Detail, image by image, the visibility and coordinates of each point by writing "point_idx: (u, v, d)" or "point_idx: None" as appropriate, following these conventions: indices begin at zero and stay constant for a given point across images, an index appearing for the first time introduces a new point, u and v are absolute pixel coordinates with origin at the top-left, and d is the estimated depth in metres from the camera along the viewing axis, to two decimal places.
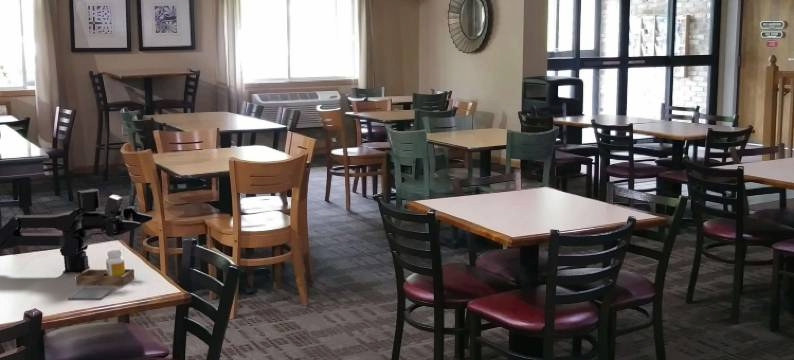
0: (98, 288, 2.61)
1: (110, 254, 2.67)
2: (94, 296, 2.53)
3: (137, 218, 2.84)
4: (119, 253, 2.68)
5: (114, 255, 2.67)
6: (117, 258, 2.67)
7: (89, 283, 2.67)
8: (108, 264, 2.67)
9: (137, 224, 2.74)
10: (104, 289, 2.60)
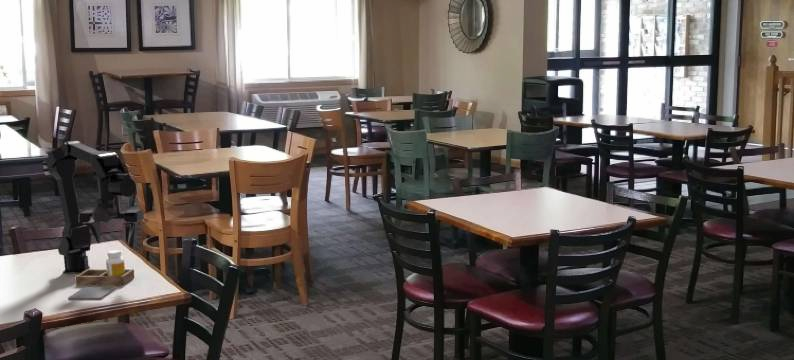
0: (98, 288, 2.61)
1: (110, 254, 2.67)
2: (94, 296, 2.53)
3: None
4: (119, 253, 2.68)
5: (114, 255, 2.67)
6: (117, 258, 2.67)
7: (89, 283, 2.67)
8: (108, 264, 2.67)
9: None
10: (104, 289, 2.60)
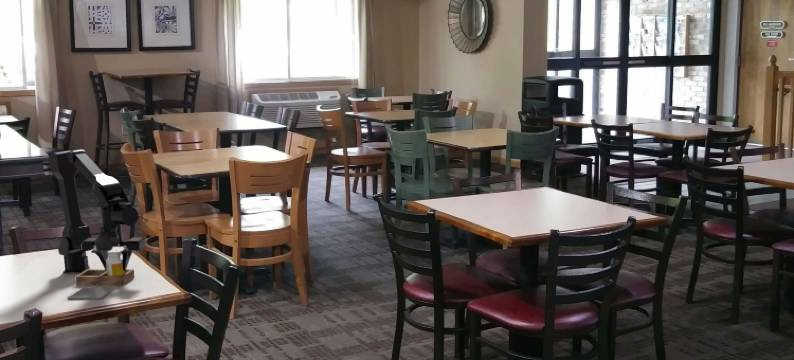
0: (98, 288, 2.61)
1: (110, 254, 2.67)
2: (94, 296, 2.53)
3: None
4: (119, 253, 2.68)
5: (114, 255, 2.67)
6: (117, 258, 2.67)
7: (89, 283, 2.67)
8: (108, 264, 2.67)
9: None
10: (104, 289, 2.60)
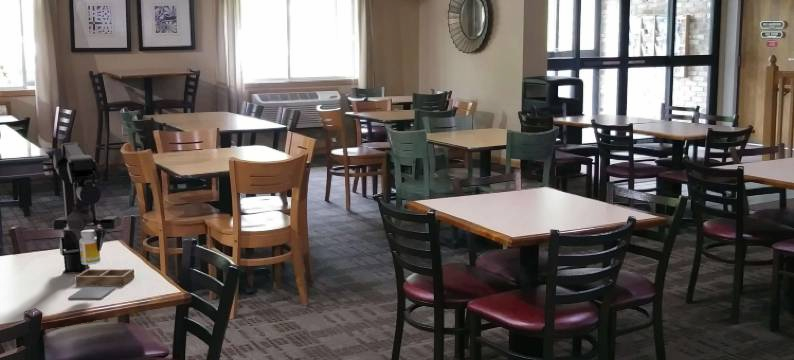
0: (98, 288, 2.61)
1: (83, 233, 2.53)
2: (94, 296, 2.53)
3: None
4: (93, 232, 2.54)
5: (88, 234, 2.53)
6: (90, 237, 2.54)
7: (89, 283, 2.67)
8: (81, 244, 2.53)
9: None
10: (104, 289, 2.60)
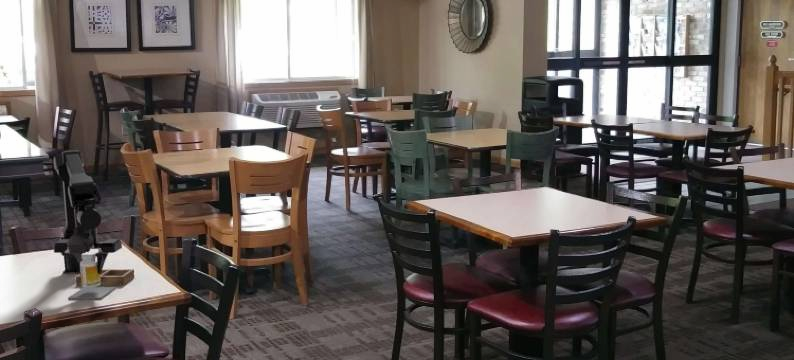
0: (98, 288, 2.61)
1: (84, 256, 2.54)
2: (94, 296, 2.53)
3: None
4: (94, 255, 2.55)
5: (88, 257, 2.54)
6: (91, 260, 2.54)
7: None
8: (82, 267, 2.54)
9: None
10: (104, 289, 2.60)
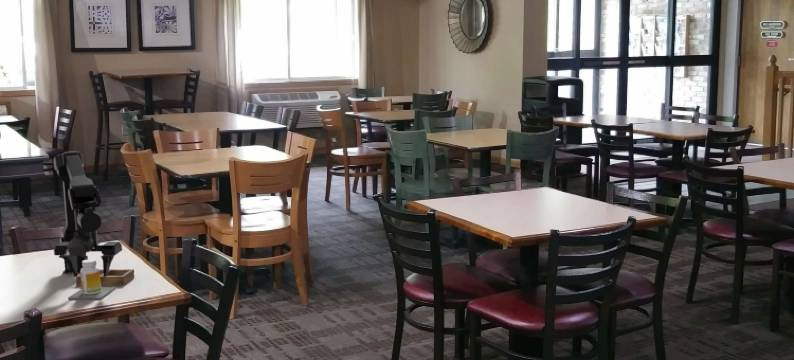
0: None
1: (84, 263, 2.54)
2: (94, 296, 2.53)
3: None
4: (94, 262, 2.55)
5: (89, 264, 2.54)
6: (91, 267, 2.55)
7: None
8: (82, 274, 2.54)
9: None
10: (104, 289, 2.60)
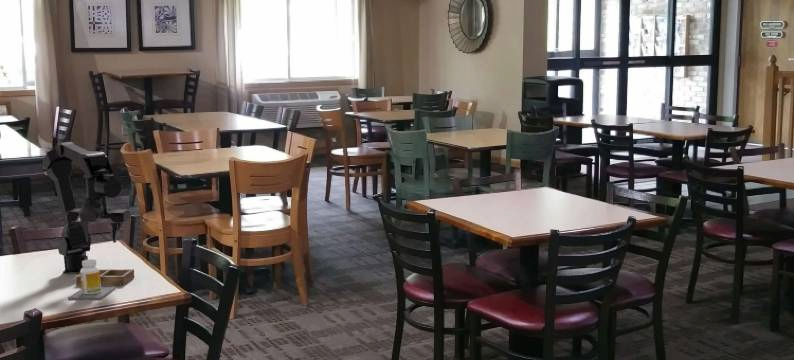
0: None
1: (84, 263, 2.54)
2: (94, 296, 2.53)
3: None
4: (94, 262, 2.55)
5: (89, 264, 2.54)
6: (91, 267, 2.55)
7: None
8: (82, 274, 2.54)
9: None
10: (104, 289, 2.60)
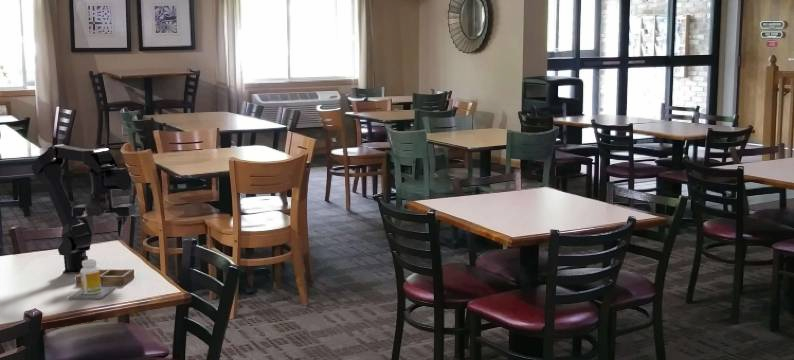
0: None
1: (84, 263, 2.54)
2: (94, 296, 2.53)
3: None
4: (94, 262, 2.55)
5: (89, 264, 2.54)
6: (91, 267, 2.55)
7: None
8: (82, 274, 2.54)
9: None
10: (104, 289, 2.60)
